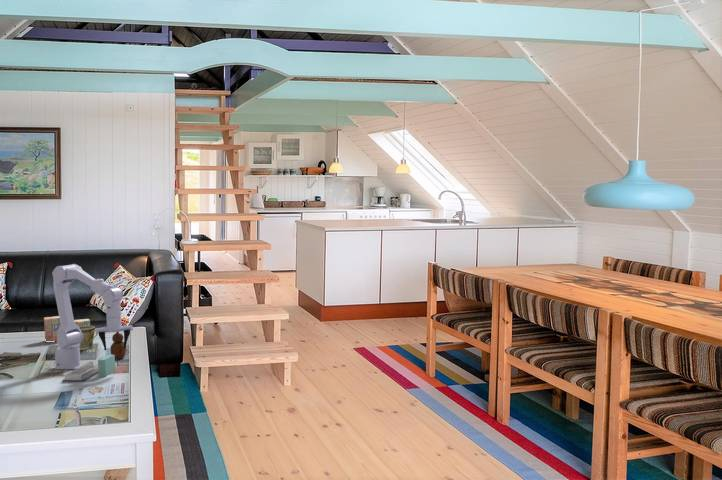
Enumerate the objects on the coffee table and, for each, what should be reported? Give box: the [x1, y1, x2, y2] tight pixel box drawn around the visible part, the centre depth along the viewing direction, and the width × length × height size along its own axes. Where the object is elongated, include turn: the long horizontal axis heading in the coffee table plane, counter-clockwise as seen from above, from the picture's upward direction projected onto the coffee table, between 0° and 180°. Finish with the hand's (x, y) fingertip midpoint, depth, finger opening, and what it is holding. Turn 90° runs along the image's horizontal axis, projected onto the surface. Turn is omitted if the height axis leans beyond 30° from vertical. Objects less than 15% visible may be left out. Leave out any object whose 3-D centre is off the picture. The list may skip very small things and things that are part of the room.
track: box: [62, 361, 99, 383], centre depth 299 cm, size 9×22×3 cm, turn 175°
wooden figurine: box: [110, 331, 127, 360], centre depth 325 cm, size 7×6×15 cm
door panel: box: [97, 354, 116, 378], centre depth 299 cm, size 3×9×7 cm, turn 175°
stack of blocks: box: [43, 315, 92, 342], centre depth 368 cm, size 21×6×12 cm, turn 118°
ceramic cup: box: [79, 325, 98, 351], centre depth 346 cm, size 13×10×10 cm
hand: (115, 349), depth 302 cm, fingers open, 7 cm apart
